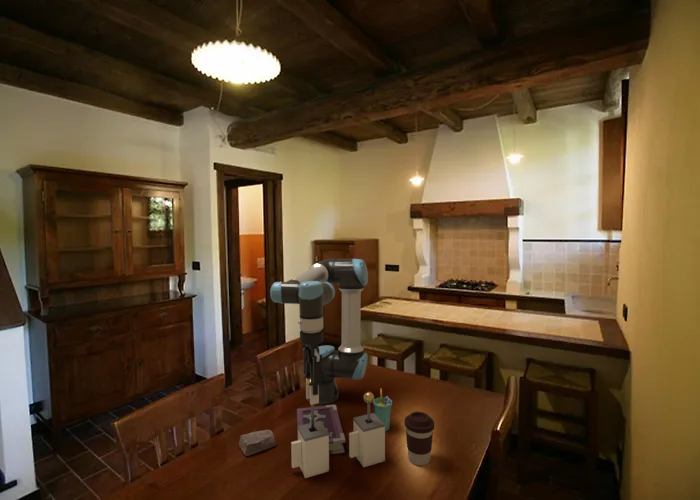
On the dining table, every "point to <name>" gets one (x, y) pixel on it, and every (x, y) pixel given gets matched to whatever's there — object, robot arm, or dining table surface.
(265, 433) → the stone
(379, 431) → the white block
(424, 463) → the coffee cup
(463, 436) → the dining table surface
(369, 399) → the plunger
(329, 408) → the book
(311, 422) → the plunger
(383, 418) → the cup
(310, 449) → the cream joystick box
